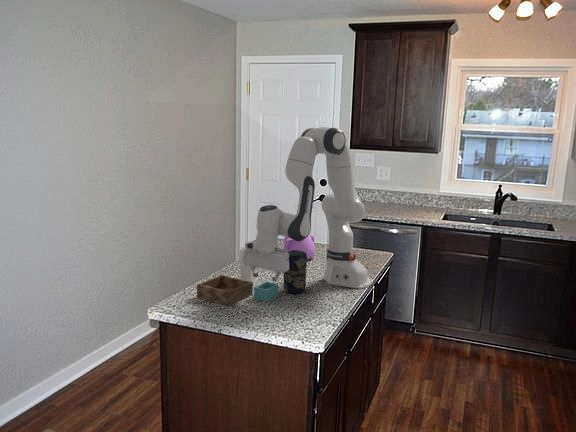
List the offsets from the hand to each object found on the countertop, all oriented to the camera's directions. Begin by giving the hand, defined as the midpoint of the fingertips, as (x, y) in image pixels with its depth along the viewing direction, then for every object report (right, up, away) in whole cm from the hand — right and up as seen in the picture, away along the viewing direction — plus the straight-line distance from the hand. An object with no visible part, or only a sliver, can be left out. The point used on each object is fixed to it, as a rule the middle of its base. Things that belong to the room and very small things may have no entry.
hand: (265, 278), depth 202 cm
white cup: (-9, -4, +21) cm, 23 cm away
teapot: (+14, +4, +64) cm, 66 cm away
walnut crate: (-16, -7, +1) cm, 18 cm away
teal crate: (0, -8, +2) cm, 8 cm away
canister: (+12, -7, +10) cm, 17 cm away
